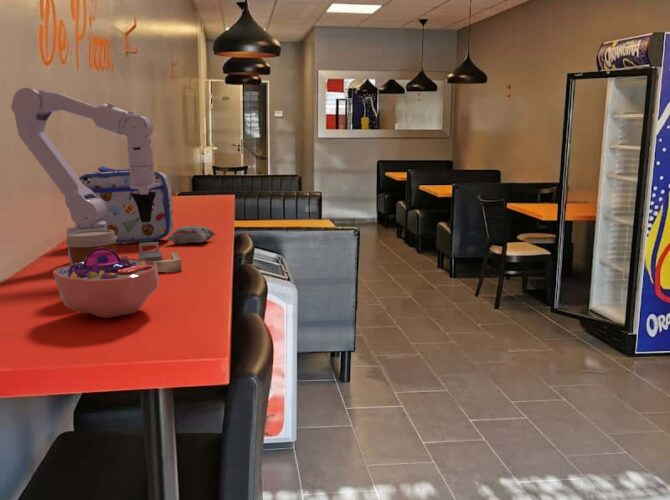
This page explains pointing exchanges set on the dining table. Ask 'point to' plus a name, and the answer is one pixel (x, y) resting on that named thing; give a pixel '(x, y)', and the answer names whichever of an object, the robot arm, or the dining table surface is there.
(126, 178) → the lunch box
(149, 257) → the grey box with knobs
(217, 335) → the dining table surface
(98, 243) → the disposable coffee cup
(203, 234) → the packaged food
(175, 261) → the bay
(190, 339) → the dining table surface
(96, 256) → the cell model
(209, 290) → the dining table surface
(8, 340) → the dining table surface
